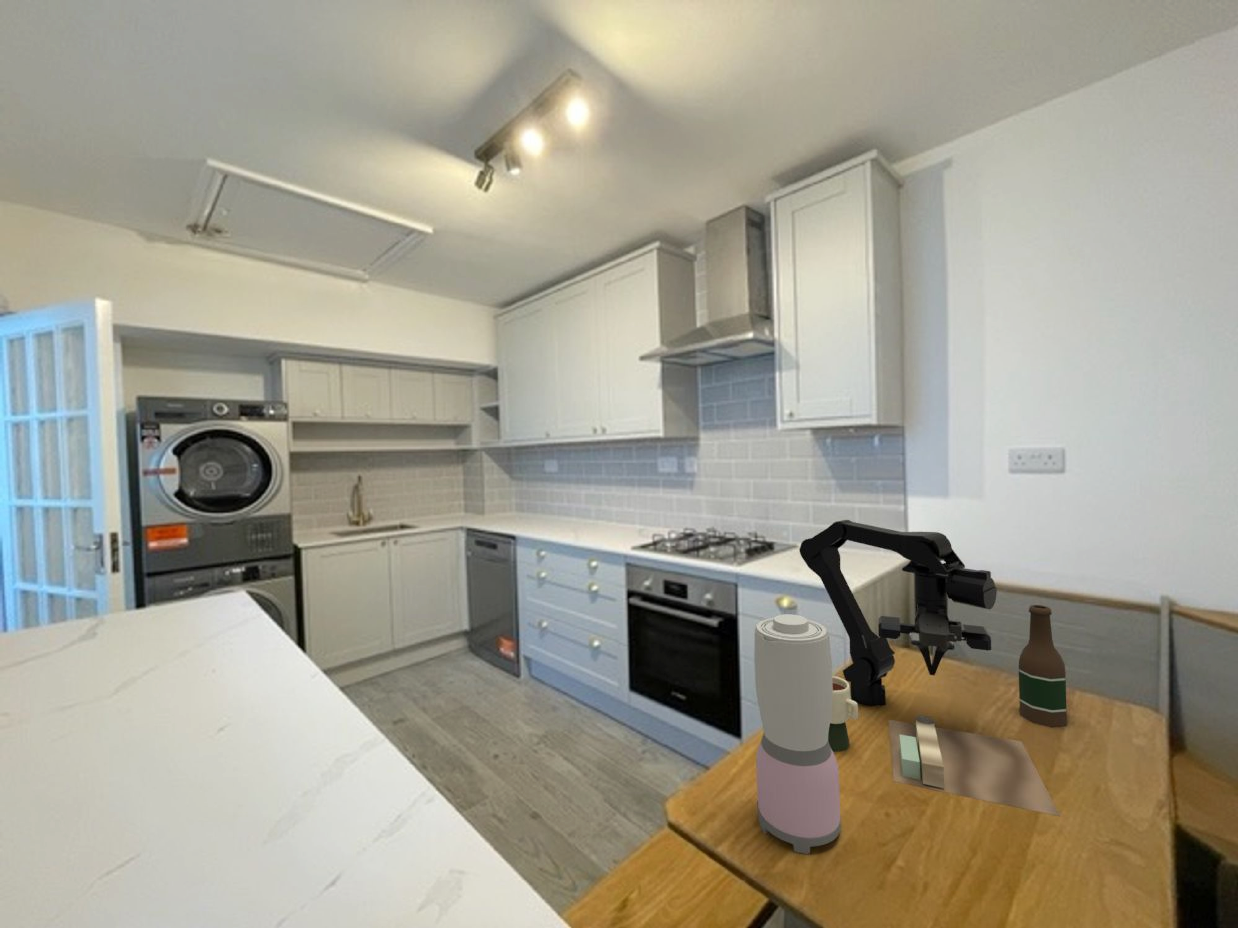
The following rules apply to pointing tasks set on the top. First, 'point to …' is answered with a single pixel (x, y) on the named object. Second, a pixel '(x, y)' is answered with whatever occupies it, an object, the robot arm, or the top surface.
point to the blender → (796, 732)
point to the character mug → (841, 715)
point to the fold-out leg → (929, 752)
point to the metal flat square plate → (979, 768)
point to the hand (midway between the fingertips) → (931, 674)
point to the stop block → (909, 757)
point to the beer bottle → (1042, 674)
